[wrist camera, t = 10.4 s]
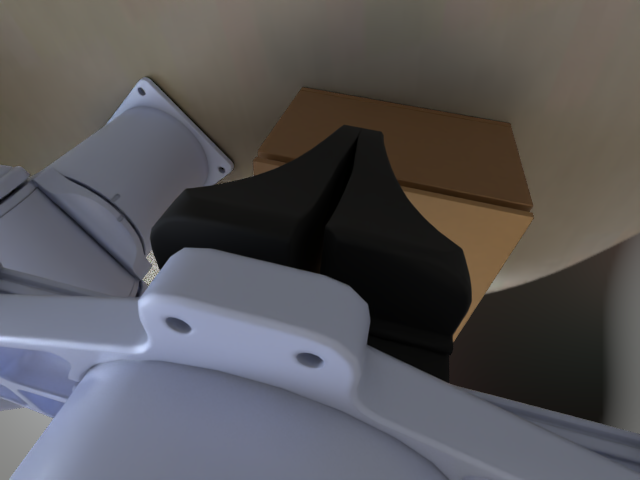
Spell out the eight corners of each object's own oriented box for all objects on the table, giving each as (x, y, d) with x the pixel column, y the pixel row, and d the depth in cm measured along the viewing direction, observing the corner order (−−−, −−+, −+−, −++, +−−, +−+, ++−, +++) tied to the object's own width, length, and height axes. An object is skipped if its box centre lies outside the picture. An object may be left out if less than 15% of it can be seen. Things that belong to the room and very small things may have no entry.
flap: (533, 212, 15) (534, 217, 15) (437, 362, 24) (437, 367, 24) (389, 183, 16) (389, 187, 15) (350, 339, 25) (349, 344, 24)
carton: (510, 123, 20) (537, 217, 15) (439, 273, 29) (438, 367, 24) (302, 86, 22) (250, 159, 16) (296, 240, 31) (262, 322, 25)
